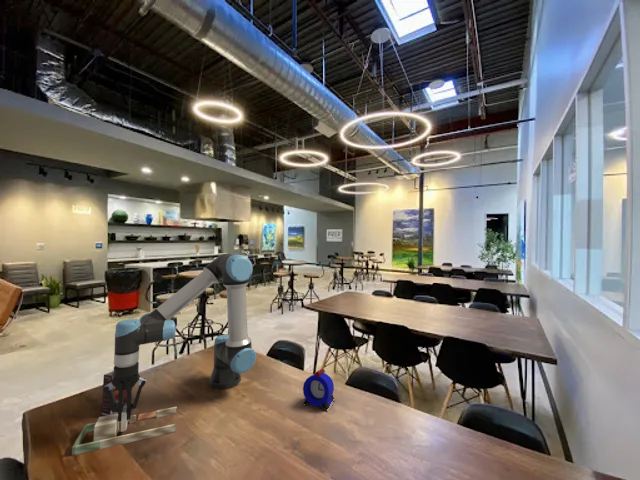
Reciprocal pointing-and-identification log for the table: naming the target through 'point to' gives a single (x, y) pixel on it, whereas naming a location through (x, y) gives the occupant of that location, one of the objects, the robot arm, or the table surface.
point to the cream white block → (106, 427)
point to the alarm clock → (318, 390)
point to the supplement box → (105, 401)
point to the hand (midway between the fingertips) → (124, 428)
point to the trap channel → (124, 438)
